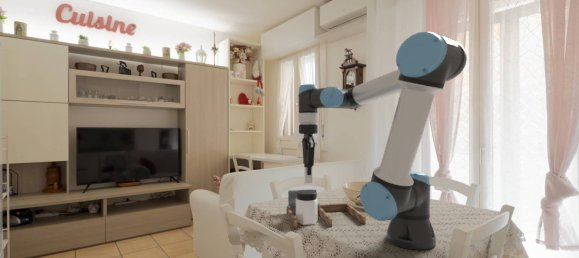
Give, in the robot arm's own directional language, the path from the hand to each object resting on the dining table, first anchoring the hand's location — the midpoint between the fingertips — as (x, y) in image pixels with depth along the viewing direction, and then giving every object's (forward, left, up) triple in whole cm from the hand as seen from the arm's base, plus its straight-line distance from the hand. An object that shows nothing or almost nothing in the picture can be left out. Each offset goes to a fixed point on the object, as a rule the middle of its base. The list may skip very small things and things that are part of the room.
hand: (308, 182), depth 117 cm
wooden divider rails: (+1, -7, -16) cm, 17 cm away
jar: (0, +1, -16) cm, 16 cm away
